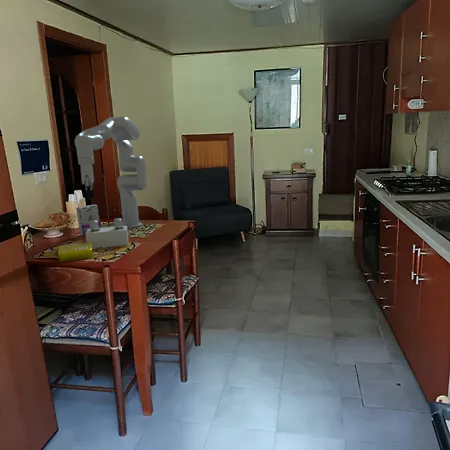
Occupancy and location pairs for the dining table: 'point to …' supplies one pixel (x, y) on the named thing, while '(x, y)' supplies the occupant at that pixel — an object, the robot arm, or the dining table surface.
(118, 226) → the pin inner
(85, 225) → the candy bar box
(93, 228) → the pin outer
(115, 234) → the pin block
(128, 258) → the dining table surface
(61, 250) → the element tile
